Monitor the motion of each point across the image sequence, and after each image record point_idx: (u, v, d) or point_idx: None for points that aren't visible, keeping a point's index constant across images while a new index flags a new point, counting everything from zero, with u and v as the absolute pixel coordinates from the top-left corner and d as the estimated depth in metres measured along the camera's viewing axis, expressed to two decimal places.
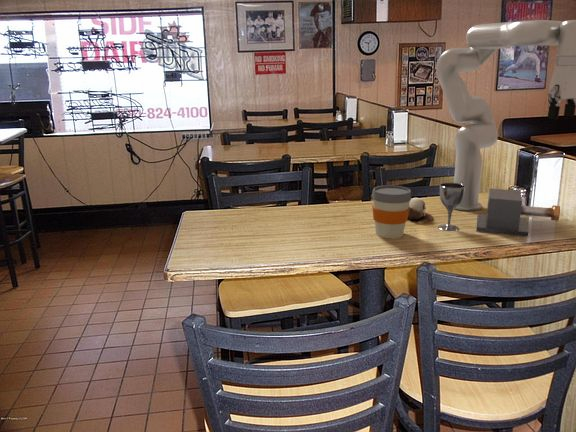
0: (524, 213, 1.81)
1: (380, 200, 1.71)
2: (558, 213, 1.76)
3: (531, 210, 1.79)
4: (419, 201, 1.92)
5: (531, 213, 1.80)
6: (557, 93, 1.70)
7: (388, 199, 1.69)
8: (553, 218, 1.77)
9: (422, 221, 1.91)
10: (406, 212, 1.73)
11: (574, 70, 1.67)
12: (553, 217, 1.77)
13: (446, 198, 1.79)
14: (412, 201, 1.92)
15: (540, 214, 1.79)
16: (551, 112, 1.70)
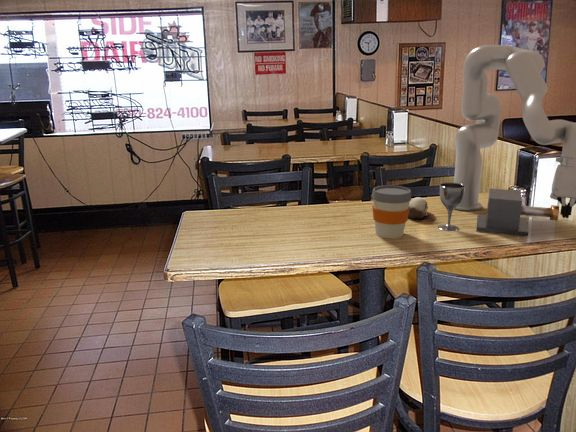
0: (523, 213, 1.81)
1: (380, 200, 1.71)
2: (557, 213, 1.76)
3: (530, 209, 1.80)
4: (421, 201, 1.92)
5: (530, 213, 1.80)
6: None
7: (388, 199, 1.69)
8: (552, 218, 1.77)
9: (424, 220, 1.92)
10: (406, 212, 1.73)
11: None
12: (552, 217, 1.77)
13: (446, 198, 1.79)
14: (414, 201, 1.93)
15: (539, 214, 1.79)
16: None
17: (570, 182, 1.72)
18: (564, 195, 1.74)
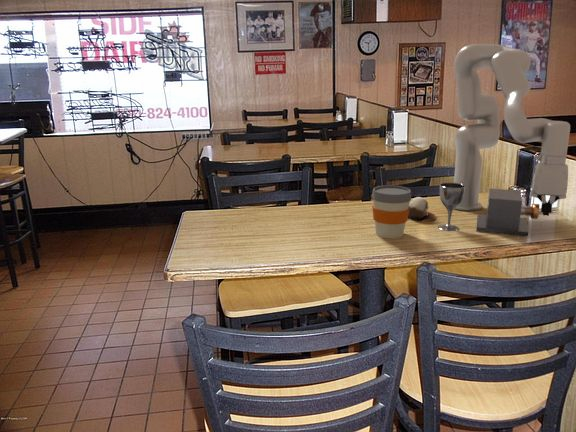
0: None
1: (380, 200, 1.71)
2: (537, 211, 1.78)
3: None
4: (422, 200, 1.92)
5: None
6: None
7: (388, 199, 1.69)
8: (532, 216, 1.79)
9: (425, 220, 1.92)
10: (406, 212, 1.73)
11: None
12: (532, 215, 1.79)
13: (446, 198, 1.79)
14: (415, 200, 1.93)
15: None
16: None
17: (549, 180, 1.74)
18: (544, 193, 1.75)
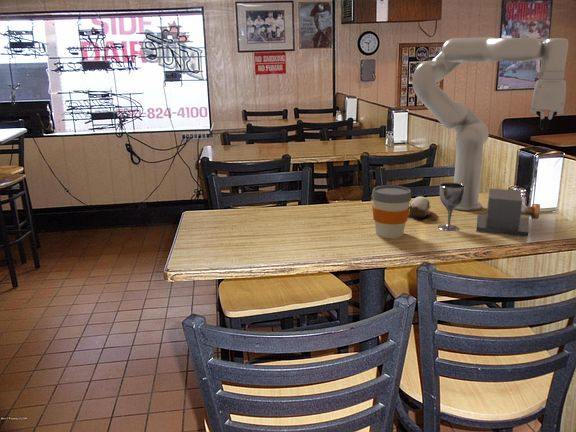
0: None
1: (380, 200, 1.71)
2: (538, 211, 1.78)
3: None
4: (424, 200, 1.93)
5: None
6: None
7: (388, 199, 1.69)
8: (533, 216, 1.79)
9: (427, 219, 1.93)
10: (406, 212, 1.73)
11: None
12: (533, 215, 1.79)
13: (446, 198, 1.79)
14: (417, 200, 1.94)
15: (521, 212, 1.81)
16: None
17: (548, 95, 1.83)
18: (542, 108, 1.85)
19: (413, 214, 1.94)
